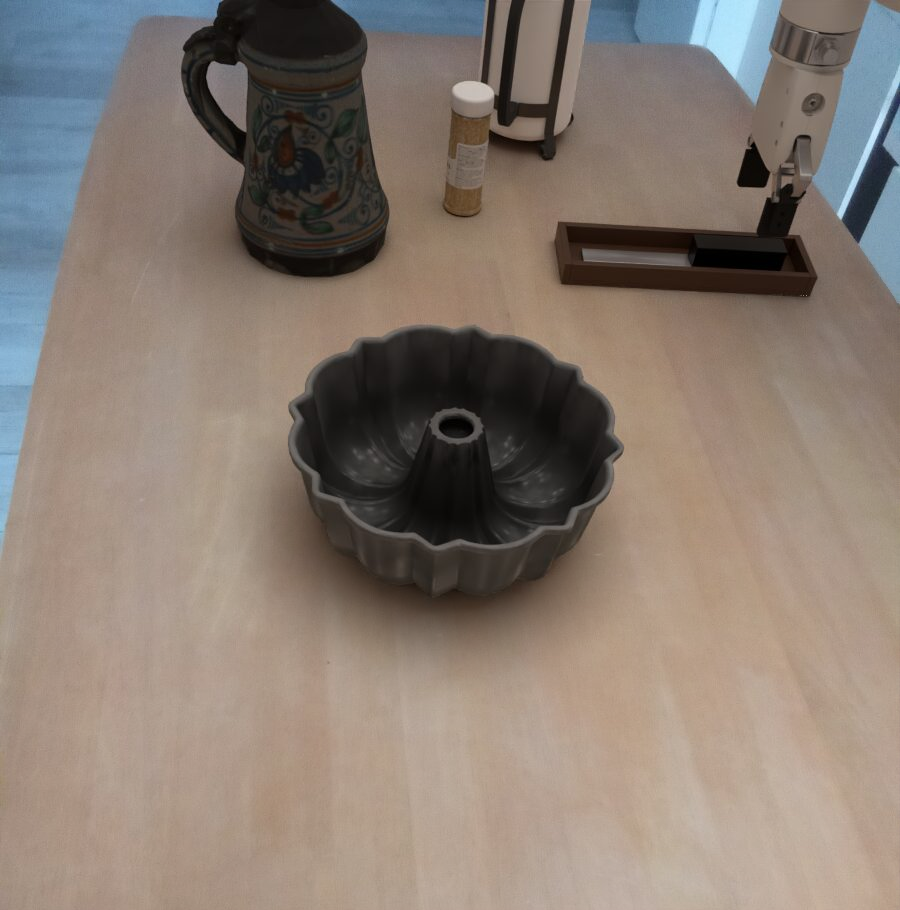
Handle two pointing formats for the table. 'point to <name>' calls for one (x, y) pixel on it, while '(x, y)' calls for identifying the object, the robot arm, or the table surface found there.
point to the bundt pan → (452, 456)
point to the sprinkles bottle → (467, 146)
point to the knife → (706, 254)
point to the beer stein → (295, 132)
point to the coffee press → (533, 66)
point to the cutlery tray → (575, 236)
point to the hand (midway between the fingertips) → (760, 210)
